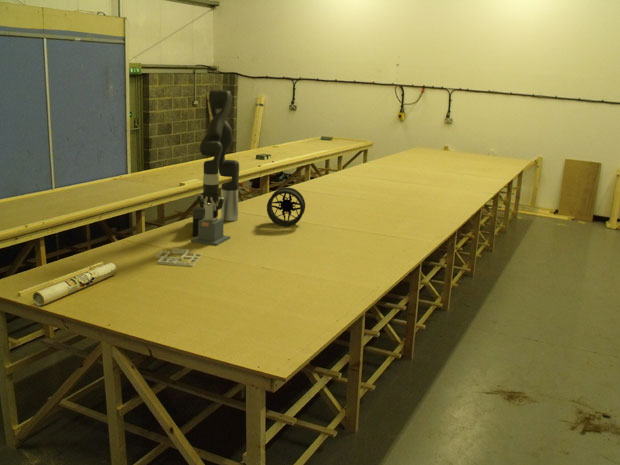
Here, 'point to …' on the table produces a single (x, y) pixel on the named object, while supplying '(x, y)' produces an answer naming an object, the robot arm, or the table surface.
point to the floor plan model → (175, 260)
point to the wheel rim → (286, 206)
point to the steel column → (209, 213)
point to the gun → (197, 219)
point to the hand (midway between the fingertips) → (210, 216)
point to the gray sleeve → (210, 232)
